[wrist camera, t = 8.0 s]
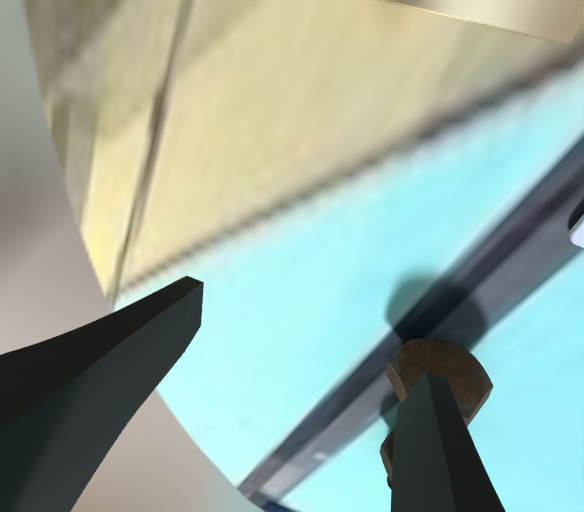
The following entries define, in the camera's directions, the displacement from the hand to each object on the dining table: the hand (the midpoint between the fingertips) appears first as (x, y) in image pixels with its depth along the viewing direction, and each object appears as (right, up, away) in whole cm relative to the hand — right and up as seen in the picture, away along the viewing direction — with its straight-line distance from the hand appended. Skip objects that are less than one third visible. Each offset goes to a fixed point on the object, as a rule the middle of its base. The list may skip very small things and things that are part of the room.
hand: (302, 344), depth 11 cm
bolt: (+10, -9, +15) cm, 20 cm away
